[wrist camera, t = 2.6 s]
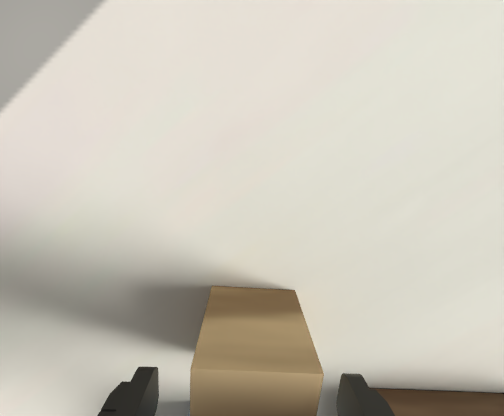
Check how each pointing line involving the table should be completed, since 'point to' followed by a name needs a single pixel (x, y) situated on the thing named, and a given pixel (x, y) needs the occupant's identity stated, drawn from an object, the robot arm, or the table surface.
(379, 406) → the robot arm
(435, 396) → the tray
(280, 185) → the table surface
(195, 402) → the oak block
